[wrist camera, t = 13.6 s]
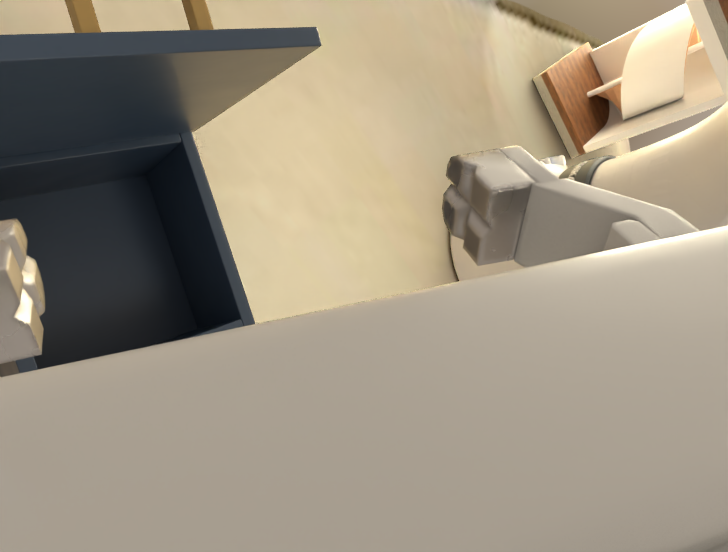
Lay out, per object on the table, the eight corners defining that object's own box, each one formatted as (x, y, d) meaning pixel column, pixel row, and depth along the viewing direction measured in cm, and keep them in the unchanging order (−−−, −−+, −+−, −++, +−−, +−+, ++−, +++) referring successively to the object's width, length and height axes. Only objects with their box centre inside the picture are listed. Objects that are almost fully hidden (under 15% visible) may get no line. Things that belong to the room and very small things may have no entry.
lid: (322, 45, 25) (289, -77, 25) (-17, 62, 18) (-75, -114, 17) (195, 131, 36) (170, 46, 35) (-53, 164, 28) (-89, 57, 28)
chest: (207, 336, 43) (257, 327, 37) (11, 408, 35) (33, 411, 29) (149, 166, 42) (190, 127, 36) (-63, 201, 35) (-56, 159, 29)
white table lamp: (574, 49, 78) (940, -141, 50) (608, 123, 80) (977, -20, 53) (532, 78, 71) (926, -121, 44) (571, 158, 74) (969, 16, 46)
